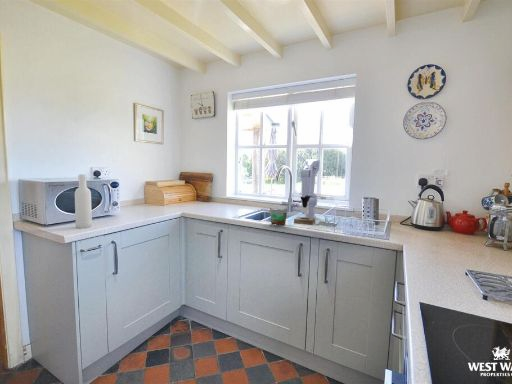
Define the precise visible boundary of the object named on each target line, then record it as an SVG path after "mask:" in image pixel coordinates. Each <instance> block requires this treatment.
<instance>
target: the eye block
mask: <svg viewBox="0 0 512 384" xmlns="http://www.w3.org/2000/svg"><path fill="white" fill-rule="evenodd" d="M315 222H316V217H315V218H310V217H304V216H296V217H295V218H294V219H293V224H302V225H314V223H315Z"/></svg>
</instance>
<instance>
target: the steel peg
mask: <svg viewBox="0 0 512 384" xmlns="http://www.w3.org/2000/svg"><path fill="white" fill-rule="evenodd" d="M308 206H309V201H308V202H307V207H303V204H302V203H301V214H305V213H307V214H308Z"/></svg>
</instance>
